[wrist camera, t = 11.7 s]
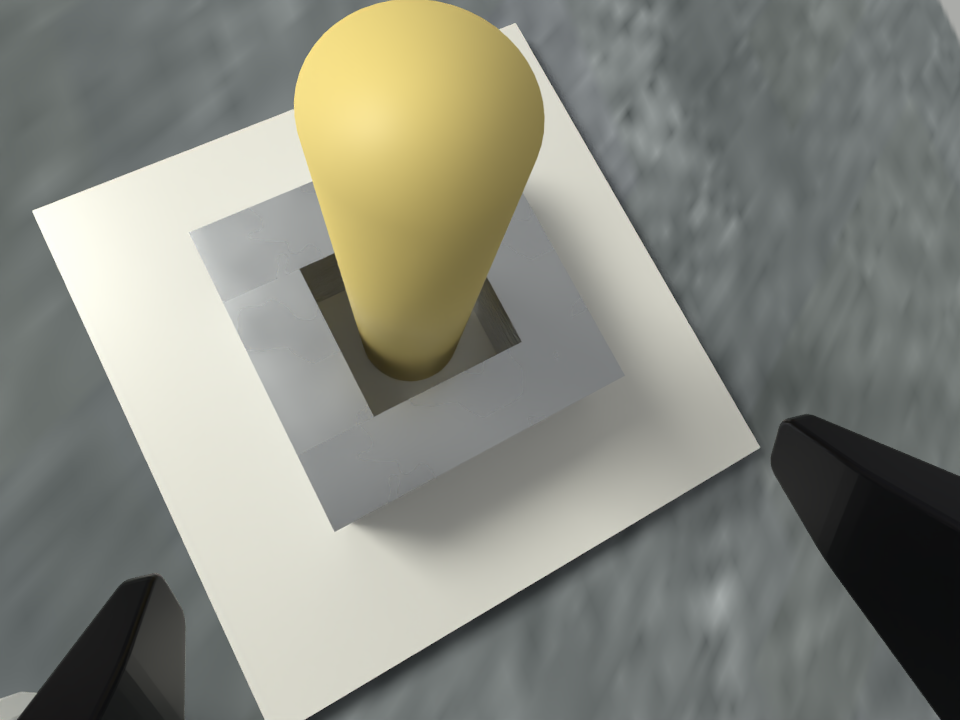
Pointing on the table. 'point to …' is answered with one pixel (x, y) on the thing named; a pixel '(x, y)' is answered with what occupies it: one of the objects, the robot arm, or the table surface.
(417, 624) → the base plate
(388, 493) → the metal collar
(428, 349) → the pin
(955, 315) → the table surface
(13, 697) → the white short cylinder
